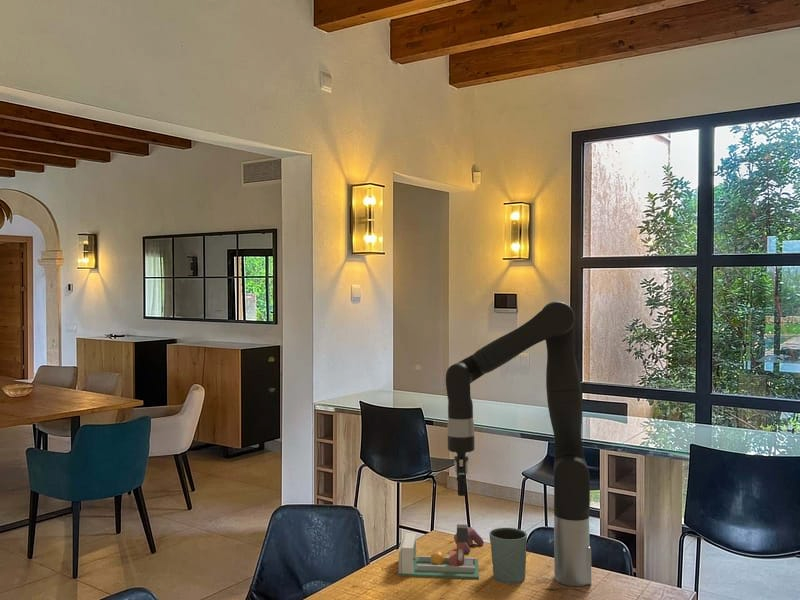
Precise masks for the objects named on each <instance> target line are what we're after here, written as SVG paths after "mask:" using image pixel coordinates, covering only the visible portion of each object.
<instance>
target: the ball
mask: <svg viewBox="0 0 800 600" xmlns="http://www.w3.org/2000/svg"><path fill="white" fill-rule="evenodd" d="M430 556H431V558H430V560H431V563H432V564H433V565H443V563H444V560H445V558H444V557H445V555H444V554H443V553H442V552H441V551H438V550H437V551H434V552H432V553H431V555H430Z"/></svg>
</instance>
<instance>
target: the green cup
mask: <svg viewBox="0 0 800 600" xmlns="http://www.w3.org/2000/svg"><path fill="white" fill-rule="evenodd" d="M527 538H528V534H527V532H525V531H524V530H522V529H519V528H515V527H500V528H499V527H498V528H494V529H492V530H490V531H489V541H490V550H491V554H490V555H491V563H492V575H493V579H494V580H495V581H497V582H499V583H502V584H505V585H506V584H507V585H508V584H509V585H514V584H521V583H522V582H525V580H526V571H527V569H526V567H527V565H526V563H527V543H528V542H527V541H528V539H527Z"/></svg>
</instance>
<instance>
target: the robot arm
mask: <svg viewBox="0 0 800 600" xmlns="http://www.w3.org/2000/svg"><path fill="white" fill-rule="evenodd" d="M575 317H576V316H575V313H574V310H573V309H572V307H571V306H570V305H569V304H567V303H566V302H563V301H559V300H556V301H555V300H554V301H551V302H549V303H547V304H546V305H545V306H543V308H542V309H541V310H540V311H539V312H538V313H537V314H536V315H534V316H533V317H532V318H531V319H530V320H529V319H528V321H527V322H525V323H524V324H522V325H520V326H519V327H518V328H516V329H514V330H512V331H509V332H508V333H506V334H503V335H502V336H500V337H498V338H496V339H495V340H492V341H491V342H489V343H488V344H486V345H484V346H483V347H481V348H480V349H478V350H476V351H475V352H474V353H473V354H471V355H469V356H467V357H465V358H464V359H462V360H460V361H458V362H456V363H453V364H452V365H450V366H449V367H448V368H447V370H446V373H445V386H446V387H445V388H446V395H447V417H448V419H447V450H448V451H449V452H451V453H455V454H456V456H454V457H453V458H454V459H453V461H454V463H453V464H454V471H455V472H454V473H455V475H456V481H457V482H456V483H457V495H458V497H459V496H460V497H465V496H467V490H466V486H467V480H468V479H467V475H468V470H469V469H468V467H469V456H468V455H466V453H471V452H473V451H475V423H474V406H473V405H474V404H473V400H472V398H471V384H472V383H474V381H476V380H478V379H479V378H481V377H483V376H485V375H486V374H488V373H490V372H493V371H494V370H496V369H499V368H500V367H502V366H503V365H505V364H507V363H509V362H510V361H511V360H513V359H514V358H516V357H517V356H519V355H521V353H523V352H525V351H526V350H528V349H530V348H532V347H533V346H535V345H538V344H539V343H541V342H544V341H545V344H546V353H547V354H546V357H547V358H546V368H545V369H546V373H545V374H546V375H545V377H546V378H545V379H546V380H545V385H546V389H545V390H546V399H547V400H546V401H547V408H548V414H549V419H550V422H551V428H552V432H553V437H554V439H553V440H554V455H553V456H554V458H553V459H554V461H553V503H554V504H553V536H554V537H553V539H554V540H553V542H554V543H553V544H554V546H553V547H554V548H553V550H554V551H553V554H554V557H553V558H554V561H553V563H554V566H553V567H554V569H553V571H554V572H553V573H554V580H555V581H556V582H558V583H559V584H562V585H564V586H570V587H583V586H587V585H592V548H591V546H590V508H591V499H590V498H591V491H590V490H591V478H590V477H591V476H590V470H589V468H588V464H587V462H586V457H585V453H584V447H583V440H582V423H583V422H582V421H583V399H582V398H583V397H582V385H581V379H580V375H579V374H580V373H579V367H578V363H577V358H576V356H575V355H576V354H575V345H574V341H575V339H574V336H575V335H574V334H575V333H574V329H575Z"/></svg>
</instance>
